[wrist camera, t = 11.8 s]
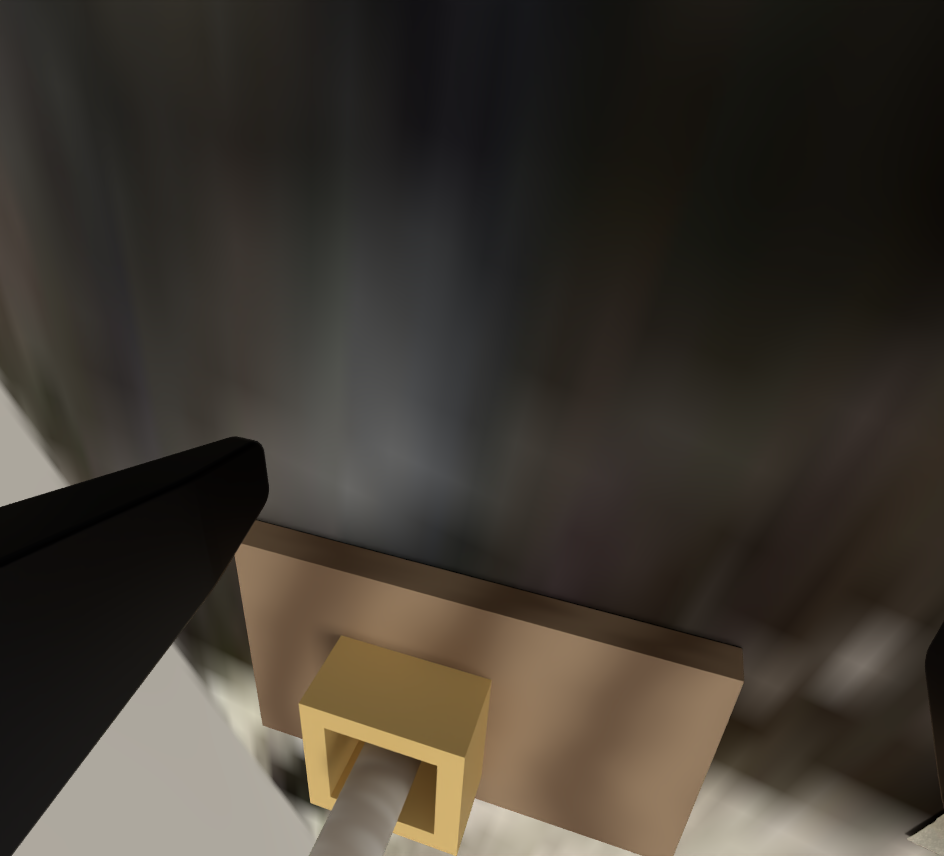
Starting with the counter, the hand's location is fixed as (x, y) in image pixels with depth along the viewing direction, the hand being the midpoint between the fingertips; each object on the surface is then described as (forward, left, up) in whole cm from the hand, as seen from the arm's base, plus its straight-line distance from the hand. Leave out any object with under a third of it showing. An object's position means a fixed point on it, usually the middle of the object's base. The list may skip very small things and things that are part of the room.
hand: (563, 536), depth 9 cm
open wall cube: (+6, +20, -10) cm, 23 cm away
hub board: (+4, +19, -12) cm, 23 cm away
